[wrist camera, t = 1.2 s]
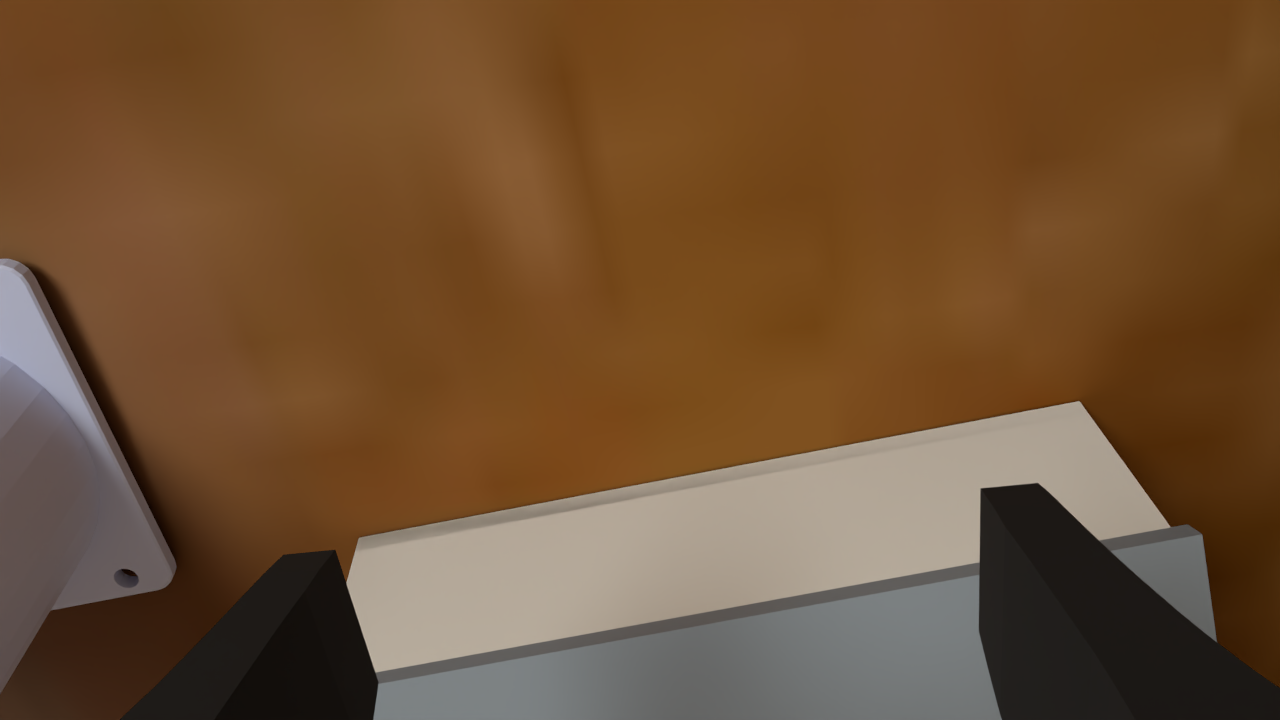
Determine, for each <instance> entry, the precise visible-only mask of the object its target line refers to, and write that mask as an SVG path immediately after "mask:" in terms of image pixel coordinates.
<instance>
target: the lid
mask: <svg viewBox="0 0 1280 720" xmlns="http://www.w3.org/2000/svg"><path fill="white" fill-rule="evenodd" d="M1099 541H1100V542H1101V543H1102V544H1103V545H1104V546H1105V547H1106V548H1108V549H1109V550H1110V551H1111V552H1112V553H1113V554H1114V555H1115V556H1116V557H1117V558H1118V559H1119V560H1120V561H1122V562H1123V563H1124V564H1125V565H1126V566H1127V567H1128V568H1129V569H1130V570H1131V571H1133V572H1134V573H1135V574H1136V575H1137V576H1138V577H1139V578H1140V579H1142V580H1143V581H1144V582H1145V583H1146V584H1147V585H1149V586H1150V587H1151V588H1152V589H1153V590H1154V591H1156V592H1157V593H1158V594H1159V595H1160V596H1161V597H1162V598H1164V599H1165V600H1166V601H1167V602H1168V603H1169V604H1171V605H1172V606H1173V607H1174V608H1175V609H1176V610H1177V611H1179V612H1180V613H1181V614H1182V615H1184V616H1185V617H1186V618H1187V619H1188V620H1190V621H1191V622H1192V623H1193V624H1195V625H1196V626H1197V627H1198V628H1199V629H1201V630H1202V631H1203V632H1204V633H1206V634H1207V635H1208V636H1209V637H1211V638H1212V639H1213V640H1215V641H1216V642H1217V639H1216V632H1215V624H1214V617H1213V610H1212V602H1211V595H1210V588H1209V580H1208V573H1207V566H1206V558H1205V551H1204V544H1203V536H1202V534H1201V533H1200V532H1198V531H1197V530H1195V529H1194V528H1192V527H1191V526H1189V525H1188V524H1187V525H1181V526H1176V527H1170V528H1165V529H1159V530H1154V531H1148V532H1143V533H1137V534H1132V535H1126V536H1121V537H1115V538H1110V539H1104V540H1099ZM979 567H980V562H978V563H973V564H967V565H962V566H956V567H951V568H945V569H940V570H934V571H929V572H923V573H918V574H913V575H907V576H902V577H896V578H891V579H885V580H880V581H874V582H869V583H863V584H858V585H852V586H847V587H841V588H836V589H830V590H825V591H819V592H814V593H808V594H803V595H797V596H792V597H786V598H781V599H775V600H770V601H765V602H759V603H754V604H748V605H743V606H737V607H732V608H726V609H721V610H715V611H710V612H704V613H699V614H693V615H688V616H682V617H677V618H671V619H666V620H660V621H655V622H649V623H644V624H638V625H633V626H627V627H622V628H616V629H611V630H606V631H600V632H595V633H589V634H584V635H578V636H573V637H567V638H562V639H556V640H551V641H545V642H540V643H534V644H529V645H523V646H518V647H512V648H507V649H501V650H496V651H490V652H485V653H479V654H474V655H468V656H463V657H458V658H452V659H447V660H441V661H436V662H430V663H425V664H419V665H414V666H408V667H403V668H397V669H392V670H386V671H381V672H375V673H376V676H377V679H378V682H379V684H378V691H377V698H376V705H375V712H374V719H373V720H1002V718H1001V716H1000V712H999V708H998V705H997V701H996V697H995V693H994V690H993V686H992V682H991V678H990V674H989V670H988V666H987V662H986V658H985V654H984V650H983V646H982V642H981V638H980V634H979Z"/></svg>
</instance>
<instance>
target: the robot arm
mask: <svg viewBox="0 0 1280 720" xmlns="http://www.w3.org/2000/svg"><path fill="white" fill-rule="evenodd" d="M176 568H177V566H176V562H175V559H174V557H173V555H172V553H171V551H170V549H169V547H168V545H167V543H166V541H165V539H164V537H163V535H162V533H161V531H160V529H159V527H158V525H157V523H156V521H155V519H154V517H153V515H152V513H151V511H150V508H149V506H148V504H147V502H146V500H145V498H144V496H143V494H142V492H141V490H140V488H139V486H138V484H137V482H136V480H135V478H134V476H133V474H132V472H131V470H130V468H129V466H128V464H127V462H126V460H125V458H124V456H123V454H122V452H121V450H120V448H119V446H118V444H117V442H116V440H115V438H114V436H113V434H112V432H111V430H110V428H109V425H108V423H107V421H106V419H105V417H104V415H103V413H102V411H101V409H100V407H99V405H98V403H97V401H96V399H95V397H94V395H93V393H92V391H91V389H90V387H89V385H88V383H87V381H86V379H85V377H84V375H83V373H82V371H81V369H80V367H79V365H78V363H77V361H76V359H75V357H74V355H73V353H72V351H71V349H70V347H69V345H68V342H67V340H66V338H65V336H64V334H63V332H62V330H61V328H60V326H59V324H58V322H57V320H56V318H55V316H54V314H53V312H52V310H51V308H50V306H49V304H48V302H47V300H46V298H45V296H44V294H43V292H42V290H41V288H40V286H39V284H38V282H37V280H36V278H35V276H34V275H33V273H32V272H31V271H30V269H29V268H27V267H26V266H24V265H23V264H22V263H20V262H18V261H14V260H11V259H0V694H1V692H2V690H3V689H4V687H5V685H6V684H7V682H8V680H9V679H10V677H11V675H12V674H13V672H14V671H15V669H16V667H17V666H18V664H19V662H20V661H21V659H22V657H23V656H24V654H25V652H26V651H27V649H28V647H29V646H30V644H31V642H32V641H33V639H34V637H35V636H36V634H37V632H38V631H39V629H40V627H41V626H42V624H43V622H44V621H45V619H46V617H47V616H48V614H49V612H50V611H51V610H56V609H61V608H67V607H72V606H77V605H83V604H88V603H93V602H98V601H104V600H109V599H114V598H120V597H125V596H130V595H136V594H141V593H146V592H151V591H157V590H160V589H163V588H165V587H166V586H167V585H168V584H169V583H170V582H171V580H172V578H173V576H174V574H175V571H176ZM121 569H129V570H131V571H134V572H135V573H136V574H137V576H130V575H127V574H125V573H124V572H123V571H122V570H121ZM979 634H980V638H981V642H982V646H983V650H984V654H985V658H986V662H987V666H988V670H989V674H990V678H991V682H992V686H993V690H994V693H995V697H996V701H997V705H998V708H999V712H1000V716H1001V718H1002V720H1280V688H1279V687H1277V686H1276V685H1274V684H1273V683H1271V682H1270V681H1268V680H1267V679H1266V678H1264V677H1263V676H1261V675H1260V674H1259V673H1257V672H1256V671H1254V670H1253V669H1252V668H1250V667H1249V666H1247V665H1246V664H1245V663H1243V662H1242V661H1240V660H1239V659H1238V658H1237V657H1235V656H1234V655H1233V654H1231V653H1230V652H1229V651H1228V650H1226V649H1225V648H1224V647H1222V646H1221V645H1220V644H1219V643H1217V642H1216V641H1215V640H1213V639H1212V638H1211V637H1209V636H1208V635H1207V634H1206V633H1204V632H1203V631H1202V630H1201V629H1199V628H1198V627H1197V626H1196V625H1195V624H1193V623H1192V622H1191V621H1190V620H1188V619H1187V618H1186V617H1185V616H1184V615H1182V614H1181V613H1180V612H1179V611H1177V610H1176V609H1175V608H1174V607H1173V606H1172V605H1171V604H1169V603H1168V602H1167V601H1166V600H1165V599H1164V598H1162V597H1161V596H1160V595H1159V594H1158V593H1157V592H1156V591H1154V590H1153V589H1152V588H1151V587H1150V586H1149V585H1147V584H1146V583H1145V582H1144V581H1143V580H1142V579H1140V578H1139V577H1138V576H1137V575H1136V574H1135V573H1134V572H1133V571H1131V570H1130V569H1129V568H1128V567H1127V566H1126V565H1125V564H1124V563H1123V562H1122V561H1120V560H1119V559H1118V558H1117V557H1116V556H1115V555H1114V554H1113V553H1112V552H1111V551H1110V550H1109V549H1108V548H1106V547H1105V546H1104V545H1103V544H1102V543H1101V542H1100V541H1099V540H1098V539H1097V538H1096V537H1095V536H1094V535H1093V534H1092V533H1091V532H1089V531H1088V530H1087V529H1086V528H1085V527H1084V526H1083V525H1082V524H1081V523H1080V522H1079V521H1078V520H1077V519H1076V518H1075V517H1074V516H1073V515H1072V514H1071V513H1070V512H1069V511H1068V510H1067V509H1066V508H1065V507H1064V506H1063V505H1062V504H1061V503H1060V502H1059V501H1058V500H1056V499H1055V498H1054V497H1053V496H1052V495H1051V494H1050V493H1049V492H1048V491H1047V490H1046V489H1045V488H1043V487H1042V486H1041V485H1040V484H1039V483H1032V484H1021V485H1011V486H1000V487H990V488H980V567H979ZM378 684H379V682H378V679H377V676H376V673H375V670H374V667H373V664H372V661H371V658H370V655H369V651H368V648H367V645H366V642H365V639H364V636H363V633H362V630H361V627H360V624H359V621H358V618H357V615H356V612H355V609H354V606H353V603H352V600H351V597H350V593H349V590H348V587H347V584H346V581H345V578H344V575H343V572H342V569H341V566H340V563H339V560H338V557H337V554H336V551H335V550H329V551H319V552H308V553H298V554H287V555H283V556H282V557H281V558H280V559H279V560H278V561H277V562H276V563H274V564H273V565H272V566H271V567H270V568H269V569H268V570H267V571H266V572H265V573H264V574H263V575H262V576H261V578H260V579H259V580H258V581H257V582H256V583H255V584H254V585H253V586H252V587H251V588H250V589H249V590H248V591H247V592H246V593H245V594H244V595H243V596H242V597H241V598H240V599H239V601H238V602H237V603H236V604H235V605H234V606H233V607H232V608H231V609H230V610H229V611H228V612H227V613H226V614H225V615H224V616H223V617H222V618H221V620H220V621H219V622H218V623H217V624H216V625H215V626H214V627H213V628H212V629H211V630H210V631H209V632H208V633H207V634H206V635H205V636H204V637H203V638H202V639H201V640H200V641H199V642H198V643H197V644H196V645H195V646H194V647H193V649H192V650H191V651H190V652H189V653H188V654H187V655H186V656H185V657H184V658H183V659H182V660H181V661H180V662H179V663H178V664H177V665H176V666H175V667H174V668H173V669H172V670H171V671H170V672H169V673H168V674H167V675H166V676H165V677H164V678H163V679H162V680H161V681H160V682H159V683H158V684H157V685H156V686H155V687H154V688H153V689H152V690H151V691H150V692H149V693H148V694H147V695H145V696H144V697H143V698H142V699H141V700H140V701H139V702H138V703H137V704H136V705H135V706H134V707H133V708H132V709H131V710H130V711H129V712H127V713H126V714H125V715H124V716H123V717H122V718H121V719H120V720H373V719H374V712H375V705H376V698H377V691H378Z"/></svg>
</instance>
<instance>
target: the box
mask: <svg viewBox="0 0 1280 720" xmlns="http://www.w3.org/2000/svg"><path fill="white" fill-rule="evenodd" d="M1032 483H1039V484H1040V485H1041V486H1042V487H1043V488H1045V489H1046V490H1047V491H1048V492H1049V493H1050V494H1051V495H1052V496H1053V497H1054V498H1055V499H1056V500H1058V501H1059V502H1060V503H1061V504H1062V505H1063V506H1064V507H1065V508H1066V509H1067V510H1068V511H1069V512H1070V513H1071V514H1072V515H1073V516H1074V517H1075V518H1076V519H1077V520H1078V521H1079V522H1080V523H1081V524H1082V525H1083V526H1084V527H1085V528H1086V529H1087V530H1088V531H1089V532H1091V533H1092V534H1093V535H1094V536H1095V537H1096V538H1097V539H1098V540H1104V539H1110V538H1115V537H1121V536H1126V535H1132V534H1137V533H1143V532H1148V531H1154V530H1159V529H1165V528H1170V526H1169V524H1168V523H1167V521H1166V520H1165V519H1164V517H1163V516H1162V514H1161V513H1160V512H1159V510H1158V509H1157V508H1156V506H1155V505H1154V503H1153V502H1152V501H1151V499H1150V498H1149V497H1148V495H1147V494H1146V492H1145V491H1144V490H1143V488H1142V487H1141V485H1140V484H1139V483H1138V481H1137V480H1136V479H1135V477H1134V476H1133V474H1132V473H1131V472H1130V470H1129V469H1128V468H1127V466H1126V465H1125V463H1124V462H1123V461H1122V459H1121V458H1120V456H1119V455H1118V454H1117V452H1116V451H1115V450H1114V448H1113V447H1112V445H1111V444H1110V443H1109V441H1108V440H1107V439H1106V437H1105V436H1104V434H1103V433H1102V432H1101V430H1100V429H1099V427H1098V426H1097V425H1096V423H1095V422H1094V421H1093V419H1092V418H1091V416H1090V415H1089V414H1088V412H1087V411H1086V410H1085V408H1084V407H1083V405H1082V404H1081V403H1080V401H1078V402H1072V403H1067V404H1062V405H1057V406H1051V407H1046V408H1041V409H1036V410H1030V411H1025V412H1020V413H1014V414H1009V415H1004V416H999V417H993V418H988V419H983V420H978V421H972V422H967V423H962V424H956V425H951V426H946V427H941V428H935V429H930V430H925V431H920V432H914V433H909V434H904V435H898V436H893V437H888V438H883V439H877V440H872V441H867V442H862V443H856V444H851V445H846V446H840V447H835V448H830V449H825V450H819V451H814V452H809V453H803V454H798V455H793V456H788V457H782V458H777V459H772V460H767V461H761V462H756V463H751V464H745V465H740V466H735V467H730V468H724V469H719V470H714V471H709V472H703V473H698V474H693V475H687V476H682V477H677V478H672V479H666V480H661V481H656V482H651V483H645V484H640V485H635V486H629V487H624V488H619V489H614V490H608V491H603V492H598V493H593V494H587V495H582V496H577V497H571V498H566V499H561V500H556V501H550V502H545V503H540V504H534V505H529V506H524V507H519V508H513V509H508V510H503V511H498V512H492V513H487V514H482V515H476V516H471V517H466V518H461V519H455V520H450V521H445V522H440V523H434V524H429V525H424V526H418V527H413V528H408V529H403V530H397V531H392V532H387V533H382V534H376V535H371V536H366V537H360V538H359V539H358V543H357V547H356V550H355V554H354V558H353V561H352V565H351V568H350V572H349V576H348V579H347V583H346V584H347V587H348V590H349V593H350V597H351V600H352V603H353V606H354V609H355V612H356V615H357V618H358V621H359V624H360V627H361V630H362V633H363V636H364V639H365V642H366V645H367V648H368V651H369V655H370V658H371V661H372V664H373V667H374V670H375V672H381V671H386V670H392V669H397V668H403V667H408V666H414V665H419V664H425V663H430V662H436V661H441V660H447V659H452V658H458V657H463V656H468V655H474V654H479V653H485V652H490V651H496V650H501V649H507V648H512V647H518V646H523V645H529V644H534V643H540V642H545V641H551V640H556V639H562V638H567V637H573V636H578V635H584V634H589V633H595V632H600V631H606V630H611V629H616V628H622V627H627V626H633V625H638V624H644V623H649V622H655V621H660V620H666V619H671V618H677V617H682V616H688V615H693V614H699V613H704V612H710V611H715V610H721V609H726V608H732V607H737V606H743V605H748V604H754V603H759V602H765V601H770V600H775V599H781V598H786V597H792V596H797V595H803V594H808V593H814V592H819V591H825V590H830V589H836V588H841V587H847V586H852V585H858V584H863V583H869V582H874V581H880V580H885V579H891V578H896V577H902V576H907V575H913V574H918V573H923V572H929V571H934V570H940V569H945V568H951V567H956V566H962V565H967V564H973V563H978V562H980V488H990V487H1000V486H1011V485H1021V484H1032Z"/></svg>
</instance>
